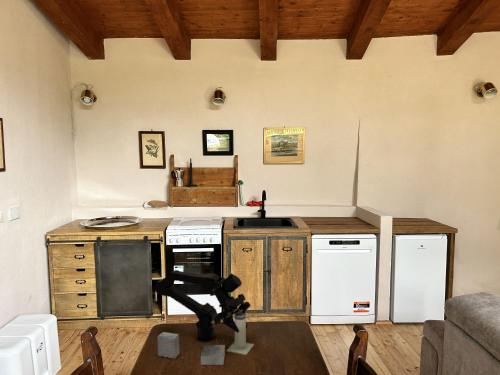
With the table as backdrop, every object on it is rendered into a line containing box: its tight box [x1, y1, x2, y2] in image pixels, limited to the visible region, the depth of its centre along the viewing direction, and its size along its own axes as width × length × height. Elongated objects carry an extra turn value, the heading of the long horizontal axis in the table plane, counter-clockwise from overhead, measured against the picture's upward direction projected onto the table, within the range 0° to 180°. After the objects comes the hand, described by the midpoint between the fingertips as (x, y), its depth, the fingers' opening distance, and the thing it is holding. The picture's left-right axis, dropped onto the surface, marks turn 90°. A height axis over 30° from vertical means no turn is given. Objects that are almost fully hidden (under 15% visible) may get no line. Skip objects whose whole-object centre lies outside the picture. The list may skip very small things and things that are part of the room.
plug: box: [234, 312, 247, 347], centre depth 155 cm, size 5×5×13 cm
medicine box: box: [157, 331, 180, 359], centre depth 150 cm, size 8×4×9 cm, turn 71°
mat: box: [226, 341, 255, 356], centre depth 155 cm, size 9×9×1 cm
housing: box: [200, 344, 226, 366], centre depth 147 cm, size 9×9×4 cm
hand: (242, 330), depth 154 cm, fingers closed on plug, 5 cm apart
